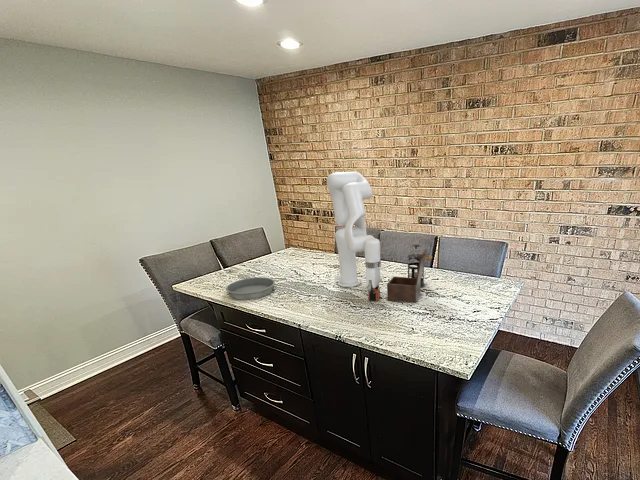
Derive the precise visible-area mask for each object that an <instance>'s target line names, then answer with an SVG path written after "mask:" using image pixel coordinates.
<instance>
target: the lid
mask: <svg viewBox="0 0 640 480" xmlns="http://www.w3.org/2000/svg"><path fill="white" fill-rule="evenodd" d="M427 252H428V249H427V248H425V249H424V250H423V251H422V252H421V253H420V254H421V256H420V261H418V262H419V267H418V272H417V271H416V272H417V277H416V283H415V285H417V284H418V282H419V281H420V279H421V278H423V276H422V273H423V267H424V268H425V262H426V261H428V262H430V261H431V260H432V259H433V254H432V255H431V254H430V255H428V254H427Z"/></svg>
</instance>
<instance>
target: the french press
mask: <svg viewBox="0 0 640 480" xmlns="http://www.w3.org/2000/svg"><path fill="white" fill-rule="evenodd" d="M411 247H414V249H415V250H417V249H418V248H419V247H421V245H420V244H412V245H411ZM421 254H422V253H412V254H408V255H407V257H408V261H411V260H415V262H410V263H408V264H407V278H416V277H417V272H418V267H419V261H420V256H421ZM410 270H411V272H410ZM423 287H425V266H424V267H423V272H422V277H421V288H423Z"/></svg>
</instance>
